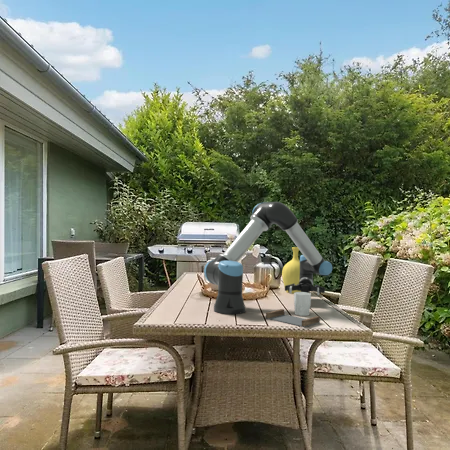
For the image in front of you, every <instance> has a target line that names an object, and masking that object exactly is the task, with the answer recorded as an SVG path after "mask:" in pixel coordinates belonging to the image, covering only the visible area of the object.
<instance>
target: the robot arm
mask: <svg viewBox="0 0 450 450" xmlns="http://www.w3.org/2000/svg"><path fill="white" fill-rule="evenodd" d="M249 218H250V221H249V222H248V223H247V225H246V226H245V227H244V229H243V230H241V232H240V233H239V234H238V236H237V237H236V238H235V239H234V240H233V241H232V242H231V244H230V245H229V246H228V248H227V249H226V250H225V251H224V252H223V253H219V254H218V255H217V256H216V257H215V258H214V259H212V260H210V261H208V262H207V263H206V264H205V266H204V269H203V274H204V277H205V280H206V281H208V282H209V283H210V284H212V285H217V295H216V299H215V303H214V305H213V311H214V312H215V313H219V314H225V315H237V314H243V313H245V312H246V305H245V301H244V298H243V282H244V281H243V280H244V279H243V278H244V277H243V276H244V266H243V264H242V262H241V263H240V262H239V261H240V260H241V259H242V258H243V256H244V255H245V254H246V253H247V251H249V249H251V247H252V245H253V244H254V243H255V242H256V241H257V240H258V238H259V237H260V235H262V233H263V232H267V231H269V229H270V228H271V227H272V225H276V226H278V227H279V228H280V229H281V231H283V232H286V234H287V235H288V236H289V238H290V239H291V241H292V242H293V243H294V245H295V247H298V249H299V251H300V253H301V255H300V257H299V260H300V275H299V284H297V285H295V284H294V283H293V284H290V285H286V286H284V291H287V290H288V292H289V294H291V295H292V293H291V292H292V291H294V290H298V291H301V292H307V293H311V292H315V293H317V296H320V293H321V294H322V293H323V294H325V293H326V288H325V287H323V286H322V285H321V286H320V285H319V284H315V285H314V274H316V275H320V276H329V275H330V274H331V273H332V271H333V265H332V263H331V262H330V261H327V260H325V259H324V258H323V256H322V255H321V254H320V252H319V251H318V249H317V248H316V247H315V245H314V243H313V242H312V241H311V239H310V238H309V236H308V235H307V234H306V232H305V231H304V229H302V227H301V225H300V224H299V223H298V221H299V219H298V218H297V217H296V215H295V214H294V212H293V211H292V210H291V209H290V208H289V207H288V206H287V205H286V204H284V203H282V202H280V201H264V202H260V203H257V204H256V205H255V206H254V207H253V209H252V214H251V216H250V217H249Z"/></svg>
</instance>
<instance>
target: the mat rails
mask: <svg viewBox="0 0 450 450" xmlns="http://www.w3.org/2000/svg"><path fill="white" fill-rule="evenodd" d="M284 314H285V309H283V308H281V309H276V310H273V311H268V312H267V311H266V313H265V319H266V318H272V317H276V316H280V315H284ZM320 318H321V316H318V315H316V316H313V317H309V318H304V319H305V320H302V326H308V325H311V324H314V323H317V324H319V323H318V322H321V320H320ZM314 325H315V324H314ZM311 326H312V325H311ZM308 327H309V326H308Z"/></svg>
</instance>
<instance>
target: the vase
mask: <svg viewBox="0 0 450 450" xmlns="http://www.w3.org/2000/svg"><path fill="white" fill-rule="evenodd" d="M291 250H292V252H293V253H292V254H293V255H292V259H291V260H289V261H288V262H287V263H285V264H284V266H283V267H282V271H281V272H282V273H281V276H282V282H283V286H284V287H285V286H286V285H290V284H293V283H294V284H295V285H297V284H299V275H300V258H299V251H300V250H299V249H298V247H297V246H293V247H291ZM295 292H301V291H298V290H294V291H292V292H291V295H292V294H293V295H294V293H295ZM286 293H287V294H288V293H289V292H288V290H287V291H286Z"/></svg>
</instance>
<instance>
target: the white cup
mask: <svg viewBox="0 0 450 450" xmlns="http://www.w3.org/2000/svg"><path fill="white" fill-rule="evenodd" d="M311 297H312V293H311V292H308V293H307V292H295V293H294V294H293V305H294V307H293V308H294V315H295V316H300V317H307V316H309V315H310V309H311V301H312V300H311V299H312V298H311Z"/></svg>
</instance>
